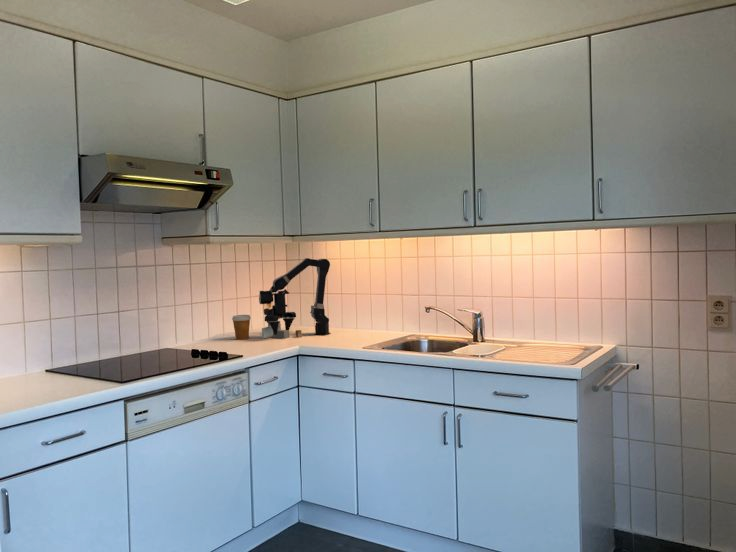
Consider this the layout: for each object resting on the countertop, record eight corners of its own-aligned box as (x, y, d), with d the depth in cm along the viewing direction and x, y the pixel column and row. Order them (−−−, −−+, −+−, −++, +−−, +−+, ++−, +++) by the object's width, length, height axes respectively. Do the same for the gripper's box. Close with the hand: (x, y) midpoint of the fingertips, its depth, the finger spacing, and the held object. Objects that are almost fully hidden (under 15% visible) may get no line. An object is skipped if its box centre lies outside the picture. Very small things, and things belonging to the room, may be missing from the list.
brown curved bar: (267, 333, 344) (267, 320, 344) (271, 332, 346) (270, 319, 345) (298, 337, 324) (297, 323, 324) (301, 336, 326) (301, 323, 325)
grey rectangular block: (289, 337, 326) (289, 330, 325) (284, 339, 322) (284, 331, 322) (278, 337, 329) (278, 329, 329) (273, 338, 325) (272, 330, 325)
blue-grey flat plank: (279, 333, 338) (279, 323, 338) (281, 333, 338) (281, 323, 337) (262, 338, 324) (261, 327, 324) (264, 338, 324) (263, 327, 323)
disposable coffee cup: (253, 337, 331) (252, 314, 330) (248, 340, 321) (247, 316, 321) (236, 337, 332) (235, 314, 331) (230, 340, 322) (229, 317, 322)
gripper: (279, 300, 336) (280, 330, 337) (255, 304, 321) (257, 335, 321) (296, 301, 331) (297, 331, 332) (272, 305, 315) (274, 336, 316)
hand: (281, 333), depth 325 cm, fingers open, 9 cm apart
